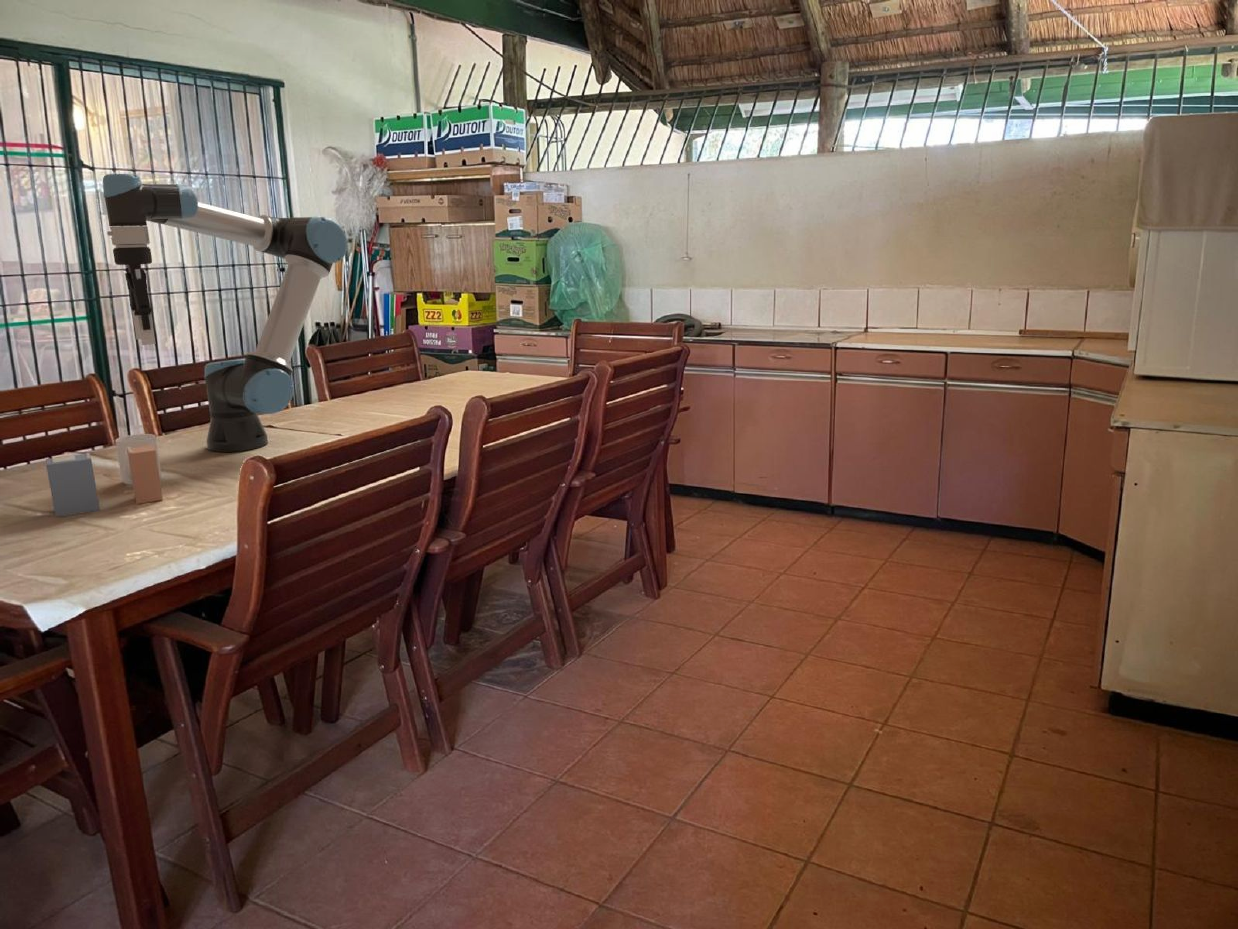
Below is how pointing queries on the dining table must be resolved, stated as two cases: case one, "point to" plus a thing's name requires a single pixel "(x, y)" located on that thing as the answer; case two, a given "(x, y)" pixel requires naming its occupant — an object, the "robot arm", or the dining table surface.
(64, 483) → the toy oven block
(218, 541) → the dining table surface
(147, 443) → the mug
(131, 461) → the stub
